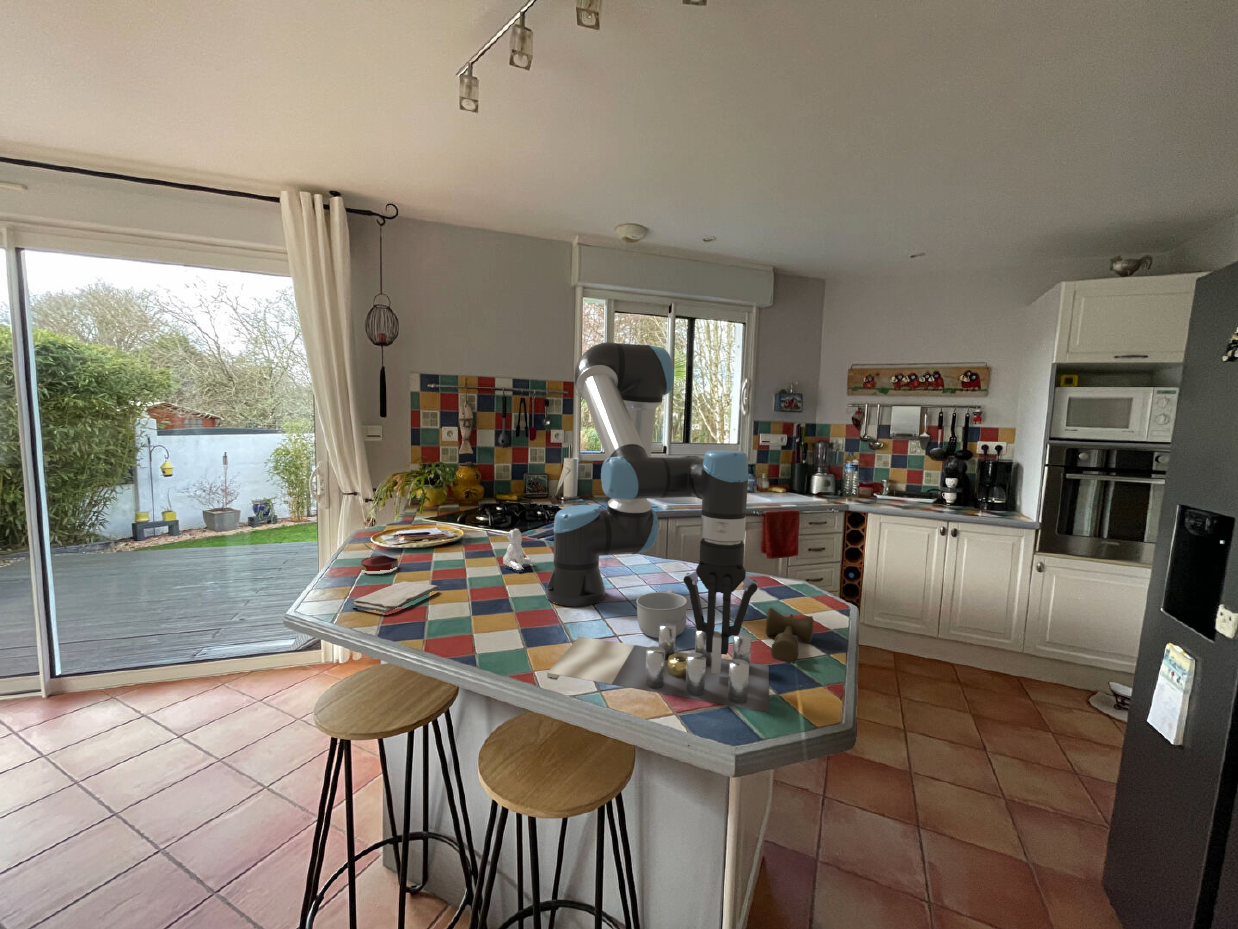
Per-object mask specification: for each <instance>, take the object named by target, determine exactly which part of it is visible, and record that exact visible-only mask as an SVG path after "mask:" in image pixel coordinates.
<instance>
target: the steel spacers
mask: <svg viewBox="0 0 1238 929" xmlns="http://www.w3.org/2000/svg"><path fill="white" fill-rule="evenodd" d="M694 637H695V638H694V640H695V642H694V652H689V654H688V655H687V666H686V692H687V693H688V694H690V695H692V696H701V695H703V694H704V693H705V672H706V666H707V665H710V664H711V662H712V653H711V652H707V651H706V633H705V632H703V631H698V630H697V628H695V636H694ZM676 638H677V636H676V625H675V624H672V623H661V624H660V625H659V639H658V646H655V645H654V646H647V647H648V648H647V649H646V676H645V684H646V686H647V687H649V688H652V689H659V688H662V687H663V686H664V665H665V660H668V658H669V656H670V655H672V654H675V651H676ZM732 638H733V639H732V656H731V657H732V658H731V659H729V660H730V661H729V678H728V699H729V700H730V701H731V702H733V703H737V704H743V703H746V702H747V698H748V679H749V670H750V663H751V652H752V651H751V649H752V636H751V634H748V633H746V632H740V633H739V635H738V636H734V635H733V636H732Z"/></svg>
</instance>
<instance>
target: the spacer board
mask: <svg viewBox="0 0 1238 929" xmlns="http://www.w3.org/2000/svg"><path fill="white" fill-rule="evenodd" d="M648 647H649V646H644V645H643V646H642V645H637V644H631V643H630V644H629V643H624V642H617V641H610V640H603V639H597V638H593V637H592V638H591V637H586V636H578V637H577V639H576V640H574V641H573V643H572V644H571V645H570V646H569V647H568V649H567V650H566V651H565V652H564V653H563V654H562V655H561V657H560V658H559V659H558V660H557V661H556V662H555V663H554V664H553V665H552V667H551V668H550V669H549V670H548V671H547V673H546V676H547V678H550V677H552V678H551V679H556V678H557V680H558V679H559V678H560V677H561V676H563V677H568V678H573V679H579V680H584V681H585V680H586V681H591V682H597V683H601V684H608V685H613V686H618V687H624V688H629V689H630V688H631V689H636V690H642V691H647V692H653V693H658V694H663V695H667V696H668V695H669V696H673V697H674V696H676V697H680V698H686V699H691V700H697V701H702V702H707V703H714V704H719V705H725V706H731V707H736V708H741V709H746V710H754V711H759V712H766V713H770V680H769V679H770V678H769V677H770V676H769V675H770V670H769V667H770V666H769V665H767V664H759V663H755V662H754V663H753V662H750V670H749V679H748V698H747V702H746V703H743V704H737V703H733V702H731V701H730V700H729V699H728V678H729V661H730V660H731V659H727V658H723V657H721V670H720V674H715V673H711V665H712V662H711V664H710V665H707V666H706V672H705V693H704V694H703V695H701V696H692V695H690V694H688V693H687V692H686V678H676V677H673V676H671V675H670V674H669V673H668V660H665V665H664V686H663V687H662V688H659V689H652V688H649V687H647V686H646V684H645V676H646V649H647V648H648ZM689 653H690V652H689ZM689 653H688V652H681V651H676V650H675V654H685V655H688V654H689Z"/></svg>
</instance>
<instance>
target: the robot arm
mask: <svg viewBox="0 0 1238 929" xmlns="http://www.w3.org/2000/svg"><path fill="white" fill-rule="evenodd" d="M672 360H673V359H672V358H671V355H670V354H669V352H668V350H666V349H665V348H664V347H660V346H655V345H651V344H637V343H635V344H634V343H619V342H618V343H617V342H609V341H608V342H601V343H600V342H599V343H598V344H595V345H593V346H591V347H590V348H588V349H587V350H585V352H583V354H582V355H581V356H580V358H579V359H578V361H577V363H576V366H575V367H574V368H575V369H574V374H573V375H574V376H573V377H574V378H573V379H574V385H575V388H576V391H577V393H578V395H579V396H580V397H581V398H582V399H583V400H585V403H586V405H587V408H588V411H589V414H590V417H591V420H592V422H593V425H594V427H595V429H596V433H597V435H598V436H597V437H598V438H599V441H600V445H601V447H602V450H603V452H604V455H605V457H606V459H605V460H604V461H603V462H602V465H601V468H600V469H601V470H600V471H601V473H600V480H601V489H602V491H603V493H604V495H605V496H606V497H607V498H609V500H608V501H607V508H606V510H602V509H601V507H600V506H599V505H597V504H578V505H577V504H576V505H571V506H568V507H564V508H561V509H560V510H558V511H557V512H556V513H555V516H554V522H553V523H554V524H553V567H552V571H551V573H550V577H549V580H548V582H547V586H546V588H545V590H546V591H545V592H546V594H545V597H546V596H547V598H548V599H549V600H550V601H552V602H555V603H557V604H556V605H558V604H561V605H560V606H563V605H566V606H565V607H586V606H585V605H588V606H591V604H593V605H595V604H594V603H596V604H598V603H600V602H602V601H603V600H605V598H604V597H605V595H606V591H605V590H606V588H605V587H606V586H605V584H604V580H603V578H602V574H601V570H600V568H599V567H600V566H599V565H600V557H601V556H616V555H618V556H619V555H636V554H642V553H646V552H649V551H650V550H651V549H652V548H653V547H654V546H655V543H656V542H657V538H658V534H659V523H658V522H659V519H658V515H657V513H656V511H655V510H653V509H652V507H653V506H652V504H651V503H650V502H649V500H648V499H659V498H661V499H670V498H671V499H673V498H674V499H675V498H676V499H677V498H680V499H681V498H696V499H699V500H701V521H700V536H701V537H702V539H701V540H699V541H700V542H699V563H698V564H697V566H696V569H695V570H693V571H692V572H687V573H685V576H684V577H683V583H684V584H685V586H686V588H687V590H688V592H689V593H688V594H689V598H690V603H691V609H692V613H693V619H694V622H695V627H696V628H695V629H697V630H698V631H703V632H705V633H706V651H707V652H711V653H712V665H711V673H715V674H720V670H721V658H723V657H722V655H725V656H726V655H728V652H729V643H730V637H733V636H738V635H739V633H741V630H742V626H743V623H744V620H745V617H746V614H747V611H748V607H749V604H750V601H751V598H752V596H754V595H755V593H756V592H757V590H758V586H759V583H758V581H757V580H755V579H752V578H750V577H749V576H747V572H746V569H745V567H744V559H745V543H744V541H743V540H745V539H746V522H747V516H746V514H747V500H748V490H749V489H748V487H749V486H748V485H749V478H750V474H749V456H748V455H747V453H745V452H743V451H741V450H740V451H739V450H728V449H726V450H725V449H711V450H707V451H706V452H705V454H704V456H703V457H700V456H699V455H697V456H696V455H685V456H680V457H656V456H655V457H654V456H653V457H652V449H653V448H652V446H653V438H654V437H653V436H654V426H655V416H656V409H657V407H659V406H660V405H661V404H663V398H664V397H663V396H666V395H668V394H669V393H670V392H671V391H672V388H673V386H674V383H675V382H674V380H675V371H674V370H675V369H674V364H673V361H672ZM698 578H699V579H698ZM699 580H700V581H701V583H702V584H703V586H704V588H705V589H706V590H707V614H706V621H705V617H704V613H703V606H702V603H701V602H702V601H701V598H700V592H699V588H698V587H699V586H698V583H699ZM742 583H743V585H742V590H743V594H742V597H741V601H740V603H739V606H738V609H737V613H736V617H735V619H734V622H733V625H731V607H732V605H731V603H732V602H731V601H732V593H733V592H734V591H735V590H736V589H738V587H739V586H740V585H741V584H742ZM717 593H720V594H722V611H721V612H722V614H721V631H718V630H717V631H716V630H715V627H716V625H715V624H716V611H717V610H716V608H717V607H716V605H717ZM547 598H546V599H547ZM548 599H547V600H548ZM549 600H548V601H549ZM550 601H549V602H550ZM599 601H600V602H599ZM552 602H551V603H552ZM597 602H598V603H597ZM555 603H554V604H555Z"/></svg>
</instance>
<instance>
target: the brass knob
mask: <svg viewBox="0 0 1238 929" xmlns="http://www.w3.org/2000/svg"><path fill="white" fill-rule="evenodd" d="M686 666H687V655H685V654H672V655H670V656H669V658H668V673H669V674H670V675H671V676H673V677H676V678H686Z"/></svg>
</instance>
